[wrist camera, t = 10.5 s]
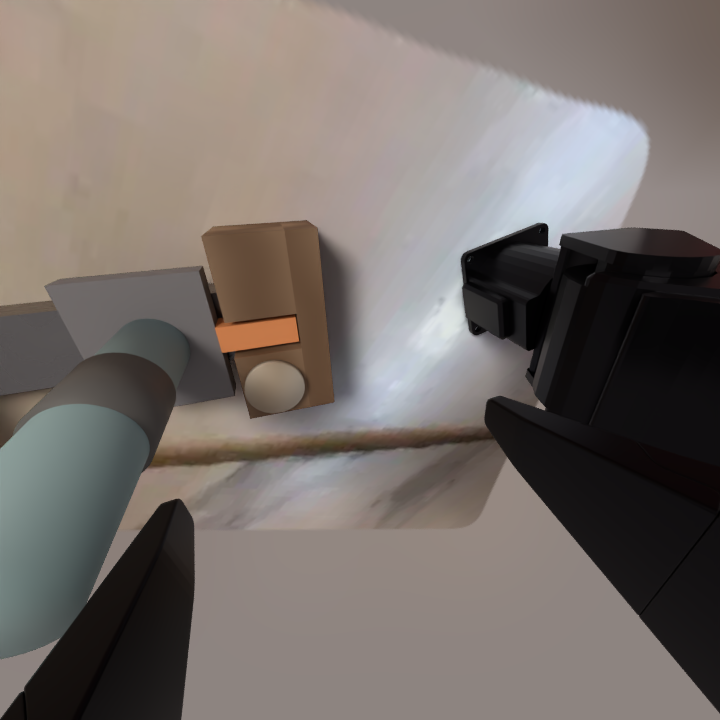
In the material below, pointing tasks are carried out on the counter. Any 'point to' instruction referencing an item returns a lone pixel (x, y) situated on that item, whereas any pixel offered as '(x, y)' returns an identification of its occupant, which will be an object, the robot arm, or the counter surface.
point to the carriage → (97, 437)
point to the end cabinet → (275, 310)
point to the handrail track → (42, 346)
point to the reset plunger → (256, 332)
